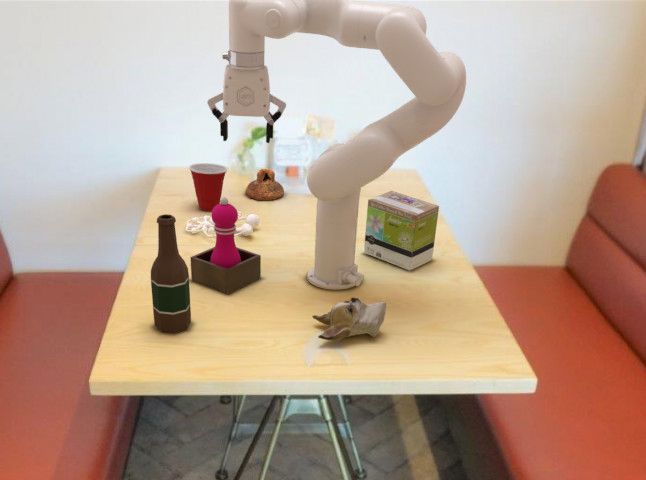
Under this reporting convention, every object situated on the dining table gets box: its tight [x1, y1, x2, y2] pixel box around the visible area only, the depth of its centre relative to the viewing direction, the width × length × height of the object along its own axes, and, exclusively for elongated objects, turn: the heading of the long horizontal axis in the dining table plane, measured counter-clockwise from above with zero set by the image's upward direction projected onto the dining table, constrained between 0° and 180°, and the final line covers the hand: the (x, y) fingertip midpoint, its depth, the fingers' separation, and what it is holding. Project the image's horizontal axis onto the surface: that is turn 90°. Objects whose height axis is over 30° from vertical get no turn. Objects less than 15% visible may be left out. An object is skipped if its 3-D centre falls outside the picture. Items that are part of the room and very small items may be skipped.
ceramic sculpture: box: [311, 297, 387, 342], centre depth 167 cm, size 11×9×15 cm
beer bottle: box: [150, 213, 192, 334], centre depth 164 cm, size 8×8×24 cm
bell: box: [245, 168, 285, 201], centre depth 240 cm, size 12×12×7 cm
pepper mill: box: [210, 196, 241, 269], centre depth 185 cm, size 7×7×20 cm
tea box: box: [363, 190, 440, 272], centre depth 200 cm, size 15×10×15 cm
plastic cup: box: [188, 162, 228, 212], centre depth 228 cm, size 11×11×12 cm
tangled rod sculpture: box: [185, 211, 261, 238], centre depth 215 cm, size 19×14×4 cm
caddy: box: [189, 246, 262, 295], centre depth 189 cm, size 12×12×6 cm
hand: (246, 140), depth 181 cm, fingers open, 9 cm apart
